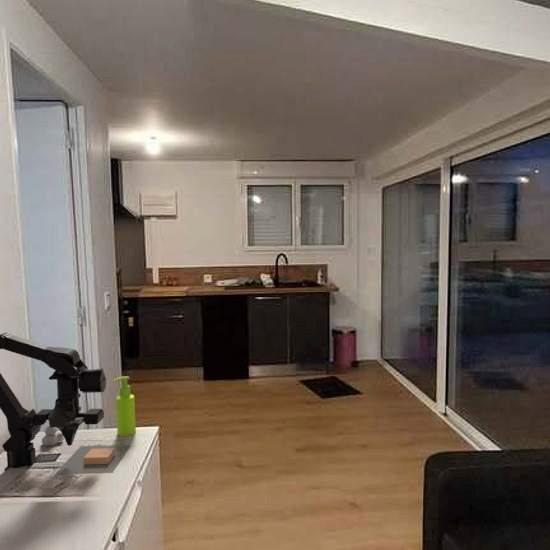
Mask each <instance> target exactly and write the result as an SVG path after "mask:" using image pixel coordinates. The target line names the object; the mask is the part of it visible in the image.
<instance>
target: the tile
mask: <svg viewBox="0 0 550 550" xmlns="http://www.w3.org/2000/svg"><path fill="white" fill-rule="evenodd" d="M114 455H115V448H102V449H91V450H90V451H89V452H88V453H87V454H86V455H85V457H84V464H108V463H109V462H110V461H111V459H112V458H113V457H114Z"/></svg>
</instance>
